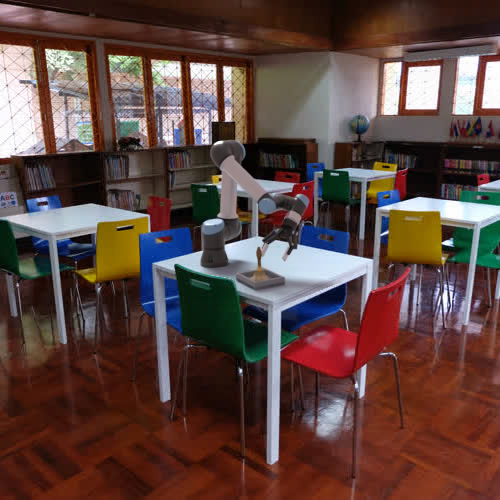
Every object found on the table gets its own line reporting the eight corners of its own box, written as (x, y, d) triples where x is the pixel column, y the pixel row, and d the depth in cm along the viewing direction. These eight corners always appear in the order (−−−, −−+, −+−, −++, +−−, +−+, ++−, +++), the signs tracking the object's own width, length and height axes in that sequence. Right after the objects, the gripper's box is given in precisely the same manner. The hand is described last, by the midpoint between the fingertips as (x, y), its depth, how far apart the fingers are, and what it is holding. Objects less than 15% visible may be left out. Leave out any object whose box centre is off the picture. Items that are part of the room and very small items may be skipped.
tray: (236, 280, 239) (236, 273, 238) (264, 274, 247) (264, 268, 246) (255, 290, 224) (255, 282, 223) (284, 284, 232) (284, 277, 231)
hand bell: (258, 283, 230) (258, 250, 226) (247, 279, 236) (246, 246, 232) (272, 279, 235) (271, 247, 231) (260, 276, 241) (260, 244, 237)
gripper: (314, 229, 242) (296, 266, 235) (274, 223, 258) (256, 257, 250) (308, 220, 237) (290, 257, 229) (267, 215, 252) (249, 249, 245)
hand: (272, 257), depth 240 cm, fingers open, 13 cm apart
